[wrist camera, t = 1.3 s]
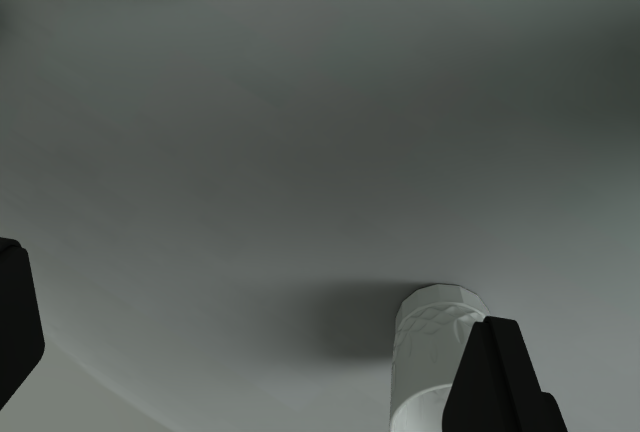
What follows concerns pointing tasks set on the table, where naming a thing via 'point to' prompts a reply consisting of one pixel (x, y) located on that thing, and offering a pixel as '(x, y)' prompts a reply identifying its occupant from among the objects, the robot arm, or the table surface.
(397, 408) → the white cup
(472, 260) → the table surface
